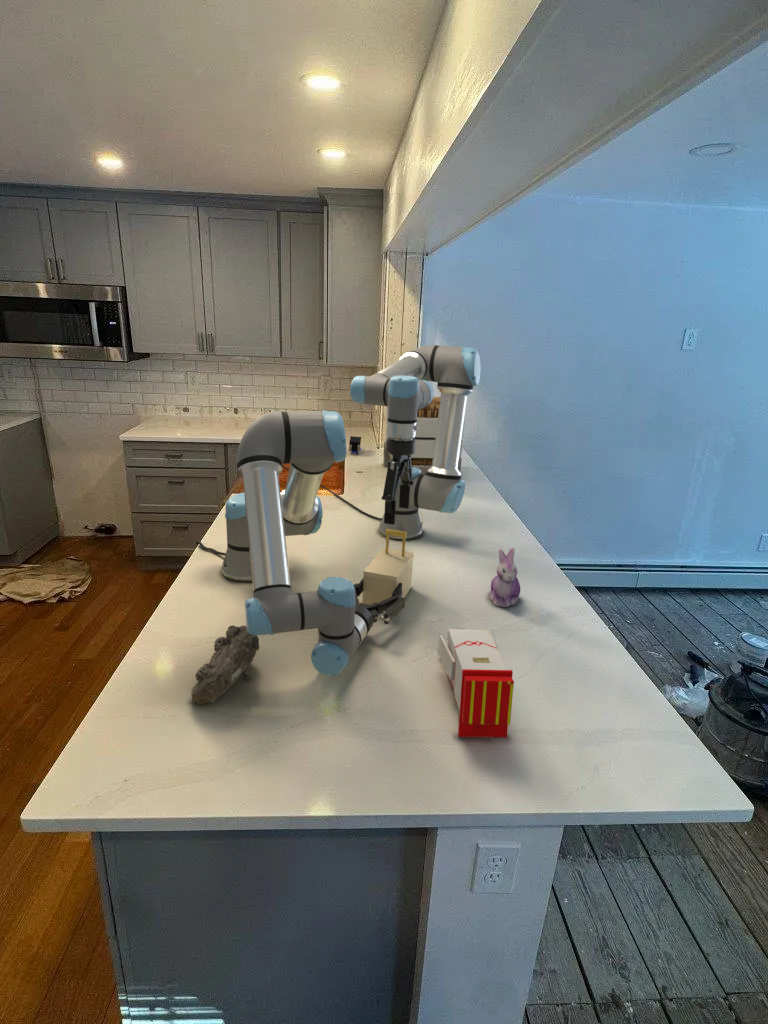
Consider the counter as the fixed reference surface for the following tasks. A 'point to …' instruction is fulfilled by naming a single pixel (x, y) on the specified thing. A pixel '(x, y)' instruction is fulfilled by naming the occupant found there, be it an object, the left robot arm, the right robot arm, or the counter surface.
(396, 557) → the lid
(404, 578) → the chest
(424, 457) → the transformer
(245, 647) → the fossil
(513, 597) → the figurine
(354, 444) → the figurine character
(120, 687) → the counter surface
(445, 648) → the white and red box
